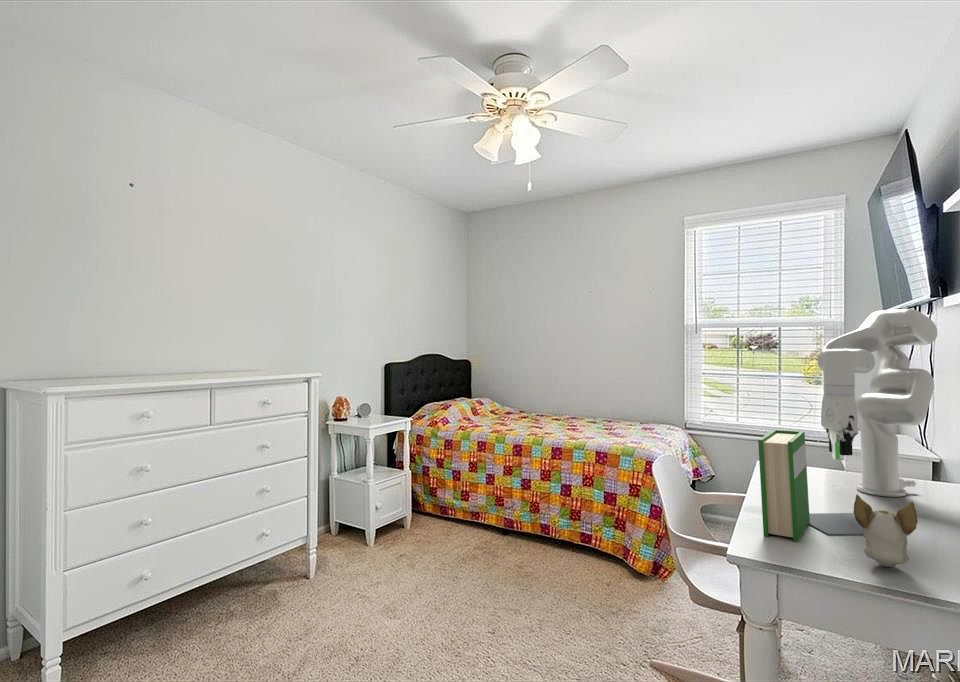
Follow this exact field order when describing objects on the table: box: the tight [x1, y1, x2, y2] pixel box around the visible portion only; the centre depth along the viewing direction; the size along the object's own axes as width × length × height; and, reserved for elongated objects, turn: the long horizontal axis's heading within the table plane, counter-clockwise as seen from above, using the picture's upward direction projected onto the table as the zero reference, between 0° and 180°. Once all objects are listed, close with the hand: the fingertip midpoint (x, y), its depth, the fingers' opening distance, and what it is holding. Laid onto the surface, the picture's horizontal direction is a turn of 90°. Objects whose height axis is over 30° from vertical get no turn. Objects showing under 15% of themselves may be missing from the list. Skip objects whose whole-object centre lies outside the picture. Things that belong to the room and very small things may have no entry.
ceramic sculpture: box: [852, 494, 918, 568], centre depth 109 cm, size 11×9×15 cm
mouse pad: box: [808, 512, 911, 536], centre depth 136 cm, size 20×16×1 cm
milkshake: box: [829, 429, 847, 461], centre depth 152 cm, size 4×5×10 cm
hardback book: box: [757, 429, 810, 543], centre depth 133 cm, size 18×7×24 cm, turn 140°
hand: (840, 452), depth 151 cm, fingers closed on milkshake, 4 cm apart
